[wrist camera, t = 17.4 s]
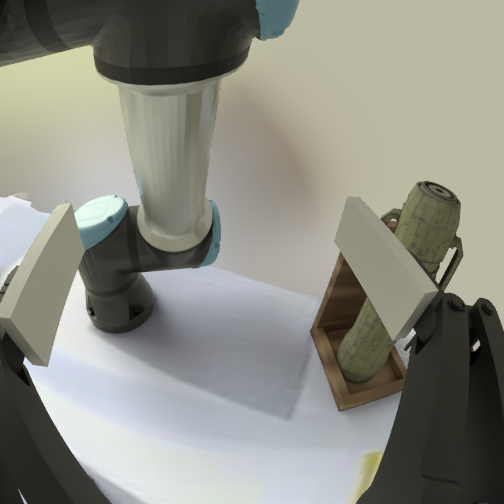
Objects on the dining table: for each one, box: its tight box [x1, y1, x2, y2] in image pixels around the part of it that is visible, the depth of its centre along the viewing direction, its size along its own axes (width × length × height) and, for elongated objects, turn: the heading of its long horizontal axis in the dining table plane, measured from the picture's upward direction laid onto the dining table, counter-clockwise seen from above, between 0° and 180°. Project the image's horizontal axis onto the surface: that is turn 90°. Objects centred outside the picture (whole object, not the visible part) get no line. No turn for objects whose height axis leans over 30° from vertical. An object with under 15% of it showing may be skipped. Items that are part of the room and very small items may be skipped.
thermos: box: [335, 181, 463, 384], centre depth 37 cm, size 9×12×35 cm
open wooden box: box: [310, 221, 407, 411], centre depth 41 cm, size 18×15×26 cm
